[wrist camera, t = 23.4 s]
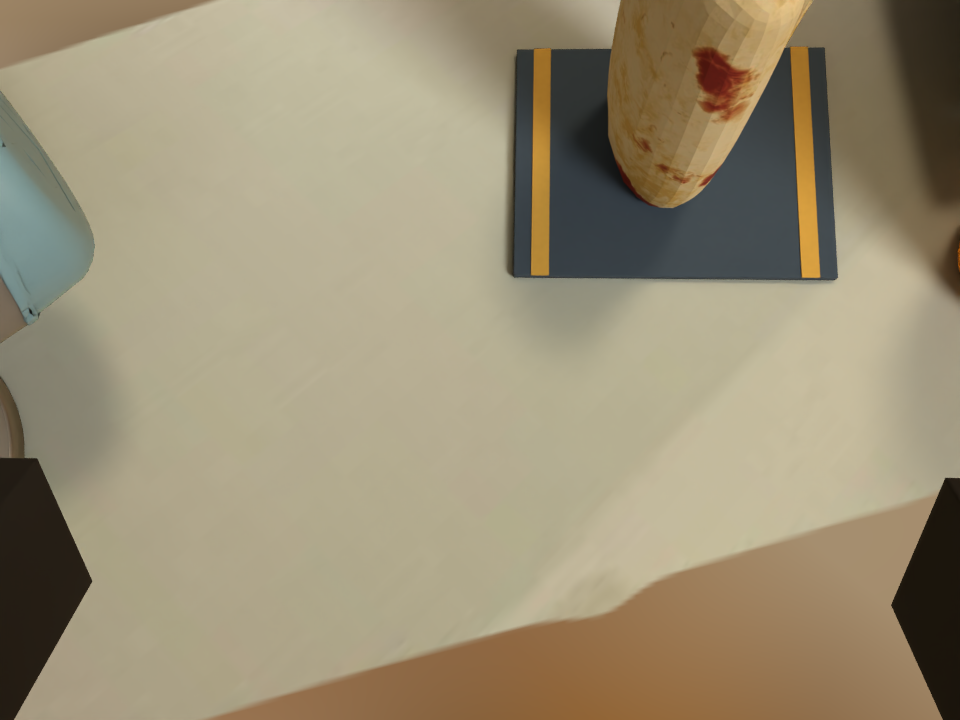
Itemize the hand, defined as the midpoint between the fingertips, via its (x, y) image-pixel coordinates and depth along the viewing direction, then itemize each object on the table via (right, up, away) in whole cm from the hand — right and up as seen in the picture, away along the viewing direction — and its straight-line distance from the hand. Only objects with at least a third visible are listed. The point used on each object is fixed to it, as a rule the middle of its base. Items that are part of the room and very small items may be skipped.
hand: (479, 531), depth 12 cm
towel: (+11, +14, +34) cm, 39 cm away
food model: (+10, +15, +34) cm, 38 cm away
